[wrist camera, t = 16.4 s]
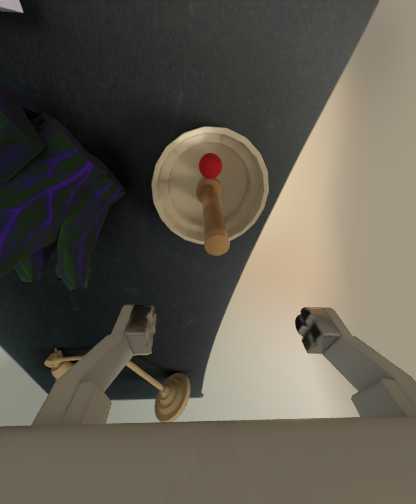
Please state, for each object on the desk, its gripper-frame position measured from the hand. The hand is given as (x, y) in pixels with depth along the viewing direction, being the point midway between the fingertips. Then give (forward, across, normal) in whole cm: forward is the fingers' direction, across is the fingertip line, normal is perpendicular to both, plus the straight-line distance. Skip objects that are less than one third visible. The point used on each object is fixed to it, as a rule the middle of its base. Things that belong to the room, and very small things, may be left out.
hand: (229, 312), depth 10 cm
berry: (+21, 0, -4) cm, 21 cm away
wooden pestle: (+22, 0, 0) cm, 22 cm away
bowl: (+23, 0, 0) cm, 23 cm away
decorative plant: (+23, +25, +3) cm, 34 cm away
